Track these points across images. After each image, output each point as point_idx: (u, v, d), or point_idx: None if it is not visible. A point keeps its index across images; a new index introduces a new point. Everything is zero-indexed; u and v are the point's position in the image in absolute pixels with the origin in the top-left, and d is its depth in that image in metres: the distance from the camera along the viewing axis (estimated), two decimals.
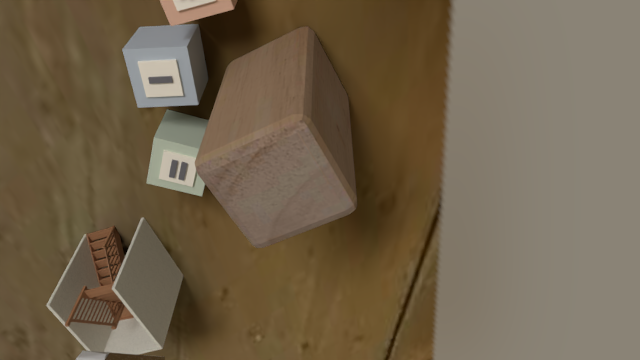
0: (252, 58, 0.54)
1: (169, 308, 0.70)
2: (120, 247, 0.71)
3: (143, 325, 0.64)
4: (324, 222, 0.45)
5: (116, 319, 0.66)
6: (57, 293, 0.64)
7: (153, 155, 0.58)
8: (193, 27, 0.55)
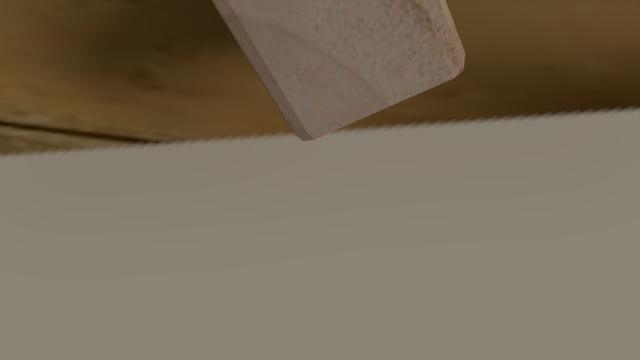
0: None
1: None
2: None
3: None
4: (278, 101, 0.29)
5: None
6: None
7: None
8: None
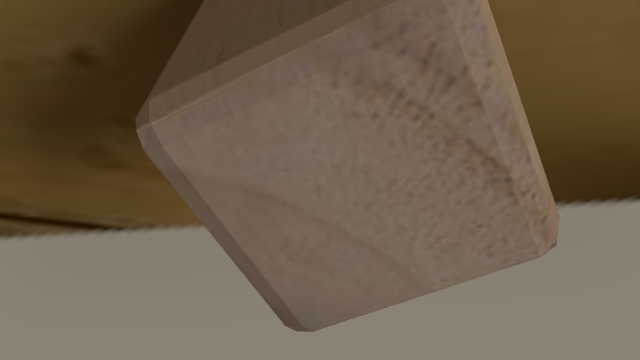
0: None
1: None
2: None
3: None
4: (257, 285, 0.18)
5: None
6: None
7: None
8: None
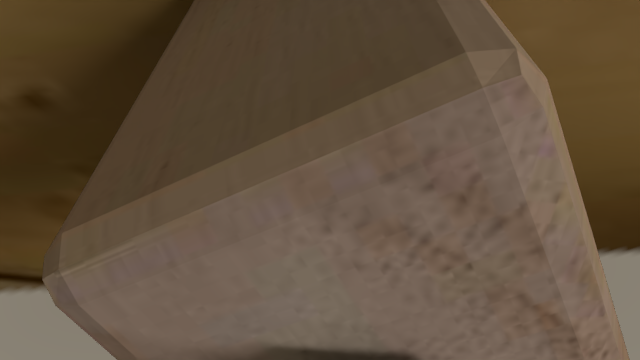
0: None
1: None
2: None
3: None
4: None
5: None
6: None
7: None
8: None
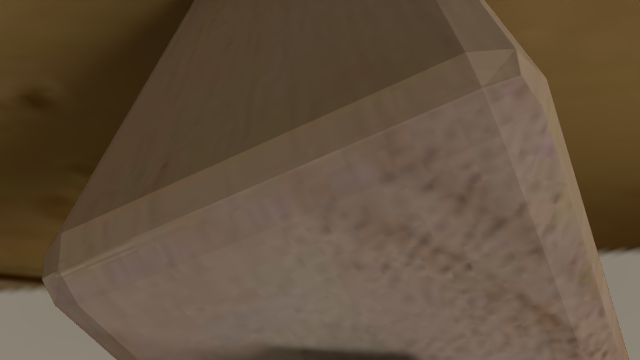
0: None
1: None
2: None
3: None
4: None
5: None
6: None
7: None
8: None
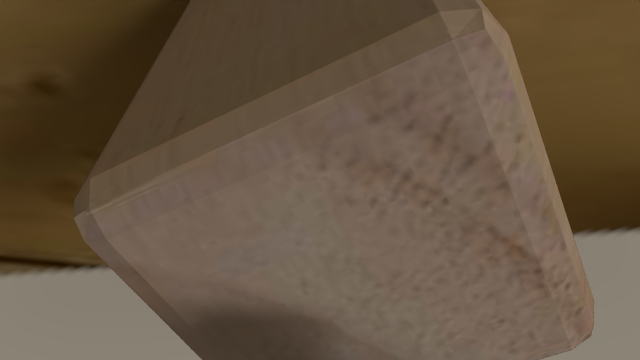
0: None
1: None
2: None
3: None
4: None
5: None
6: None
7: None
8: None
